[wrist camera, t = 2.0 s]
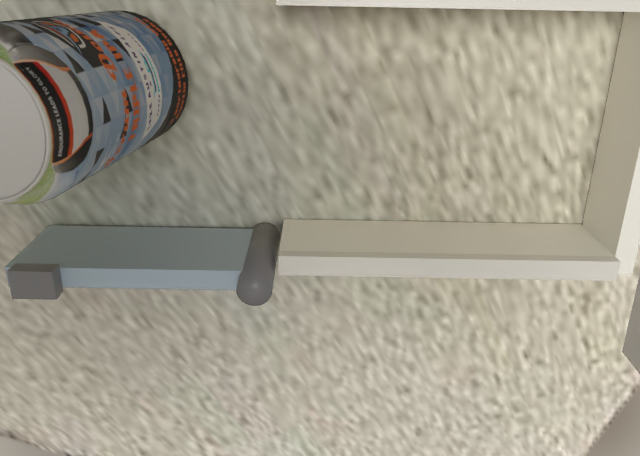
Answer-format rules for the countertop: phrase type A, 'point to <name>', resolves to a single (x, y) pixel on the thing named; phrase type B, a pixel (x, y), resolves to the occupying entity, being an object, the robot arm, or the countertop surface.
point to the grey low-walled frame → (501, 238)
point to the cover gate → (147, 260)
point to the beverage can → (81, 97)
